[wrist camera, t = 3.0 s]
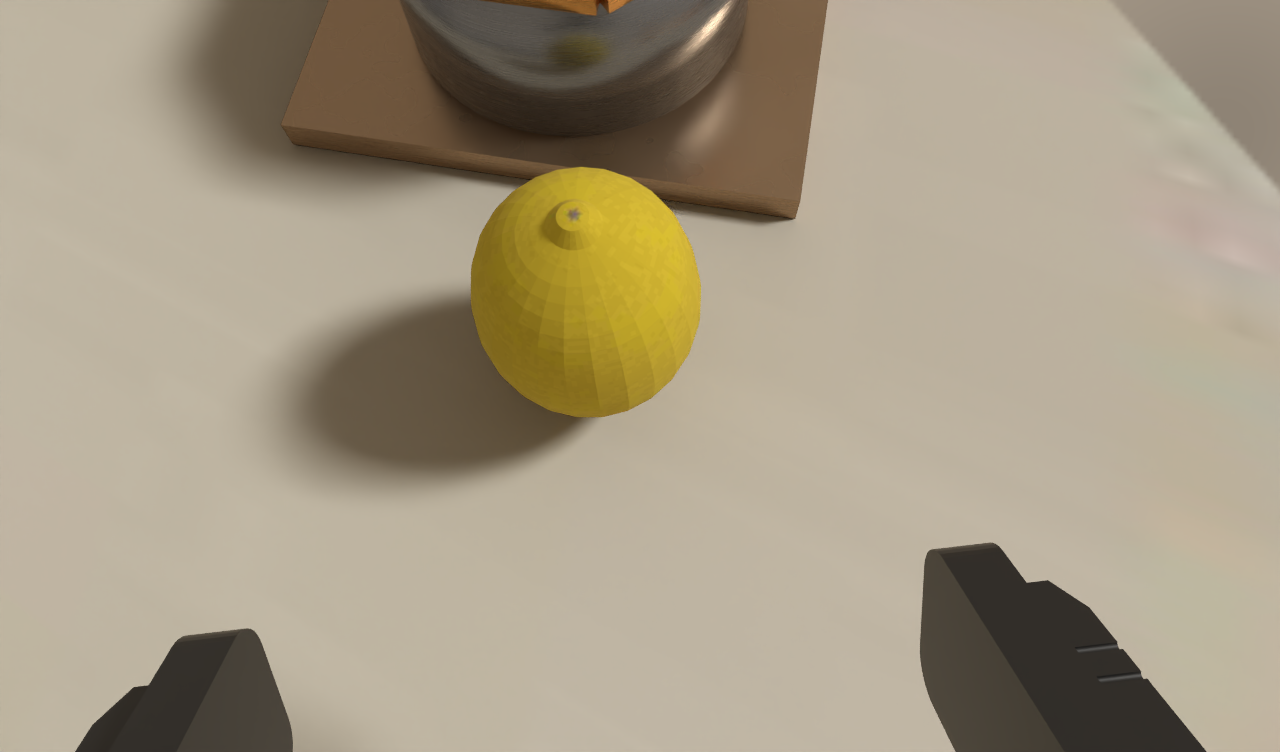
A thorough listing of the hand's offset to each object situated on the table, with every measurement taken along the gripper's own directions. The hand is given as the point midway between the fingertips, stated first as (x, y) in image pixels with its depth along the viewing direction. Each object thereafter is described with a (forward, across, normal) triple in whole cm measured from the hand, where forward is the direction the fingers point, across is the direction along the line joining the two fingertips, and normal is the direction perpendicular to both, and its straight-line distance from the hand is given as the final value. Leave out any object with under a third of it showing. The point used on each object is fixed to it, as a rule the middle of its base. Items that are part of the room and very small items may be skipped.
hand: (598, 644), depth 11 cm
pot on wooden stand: (+24, -1, -6) cm, 24 cm away
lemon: (+15, 0, +3) cm, 15 cm away
